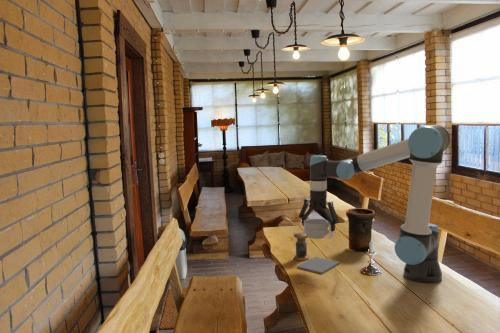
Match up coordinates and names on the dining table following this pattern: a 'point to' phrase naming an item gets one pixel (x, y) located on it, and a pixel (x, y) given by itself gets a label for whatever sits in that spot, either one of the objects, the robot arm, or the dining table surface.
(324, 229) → the teacup
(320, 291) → the dining table surface
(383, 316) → the dining table surface
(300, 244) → the brown rounded upright piece
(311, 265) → the pad
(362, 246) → the vessel
